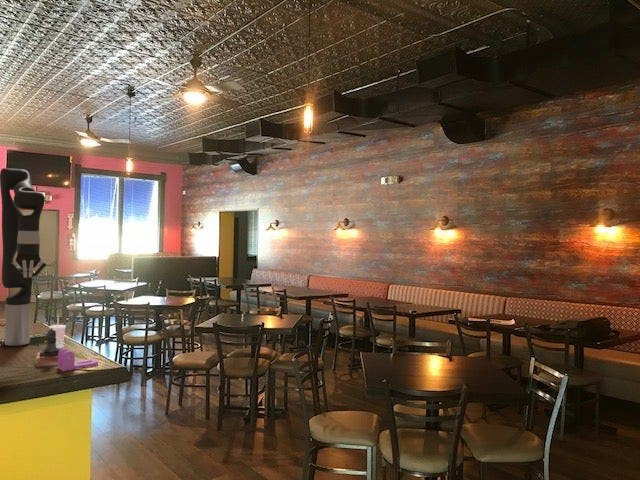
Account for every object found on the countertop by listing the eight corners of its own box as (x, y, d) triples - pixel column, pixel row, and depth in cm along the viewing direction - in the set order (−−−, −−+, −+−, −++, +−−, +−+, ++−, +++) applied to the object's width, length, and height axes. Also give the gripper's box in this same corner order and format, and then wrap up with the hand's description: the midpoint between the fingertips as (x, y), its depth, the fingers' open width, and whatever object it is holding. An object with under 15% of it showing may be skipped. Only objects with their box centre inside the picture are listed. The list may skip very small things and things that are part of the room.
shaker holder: (36, 359, 195) (36, 351, 195) (65, 357, 199) (65, 349, 199) (35, 367, 185) (35, 358, 185) (66, 364, 190) (66, 356, 190)
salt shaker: (52, 361, 189) (52, 329, 188) (38, 360, 190) (39, 328, 190) (63, 358, 194) (63, 326, 194) (49, 356, 196) (50, 325, 195)
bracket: (63, 371, 181) (63, 352, 181) (57, 368, 185) (58, 349, 185) (100, 365, 190) (100, 347, 190) (94, 362, 194) (94, 344, 194)
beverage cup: (68, 346, 217) (69, 313, 217) (59, 349, 211) (60, 315, 211) (54, 345, 218) (55, 312, 217) (45, 348, 212) (46, 315, 211)
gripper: (47, 242, 205) (46, 285, 205) (9, 241, 199) (8, 286, 199) (47, 243, 198) (47, 287, 199) (8, 242, 192) (7, 288, 193)
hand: (27, 286), depth 199 cm, fingers closed
